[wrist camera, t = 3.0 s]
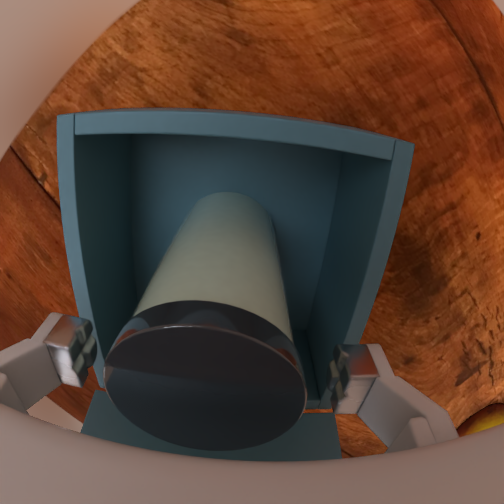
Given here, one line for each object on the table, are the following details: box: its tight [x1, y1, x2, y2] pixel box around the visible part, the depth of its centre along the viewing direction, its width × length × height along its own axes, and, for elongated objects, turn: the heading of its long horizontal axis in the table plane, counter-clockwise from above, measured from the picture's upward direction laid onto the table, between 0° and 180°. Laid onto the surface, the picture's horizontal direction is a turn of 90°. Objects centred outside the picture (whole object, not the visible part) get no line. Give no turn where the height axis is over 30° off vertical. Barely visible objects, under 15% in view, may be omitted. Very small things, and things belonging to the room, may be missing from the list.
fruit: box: [457, 403, 504, 437], centre depth 28 cm, size 11×10×8 cm
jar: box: [103, 192, 307, 451], centre depth 13 cm, size 6×6×11 cm
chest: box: [57, 108, 415, 409], centre depth 15 cm, size 14×13×7 cm
